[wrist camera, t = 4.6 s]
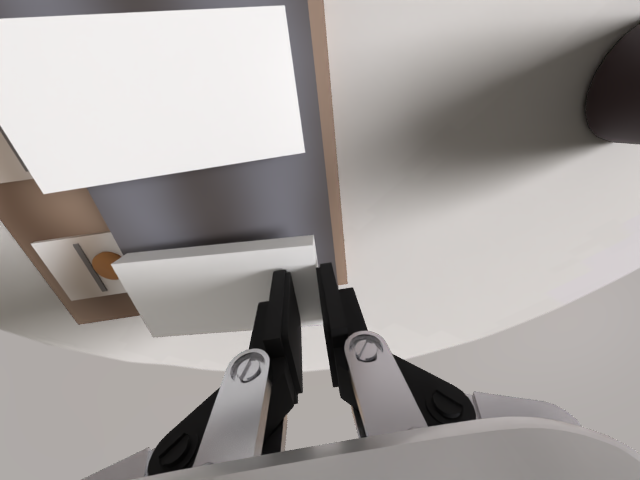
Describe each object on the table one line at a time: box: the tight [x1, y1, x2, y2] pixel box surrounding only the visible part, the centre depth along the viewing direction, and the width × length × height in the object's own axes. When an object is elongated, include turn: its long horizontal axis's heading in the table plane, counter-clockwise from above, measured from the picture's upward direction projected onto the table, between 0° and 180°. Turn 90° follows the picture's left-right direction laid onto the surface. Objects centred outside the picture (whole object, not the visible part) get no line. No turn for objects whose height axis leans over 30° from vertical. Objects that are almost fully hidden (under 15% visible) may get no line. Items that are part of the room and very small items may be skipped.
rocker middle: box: [0, 5, 305, 194], centre depth 9 cm, size 9×4×1 cm, turn 97°
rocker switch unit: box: [0, 0, 348, 325], centre depth 12 cm, size 20×25×4 cm
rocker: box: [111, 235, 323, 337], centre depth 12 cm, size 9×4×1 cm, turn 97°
